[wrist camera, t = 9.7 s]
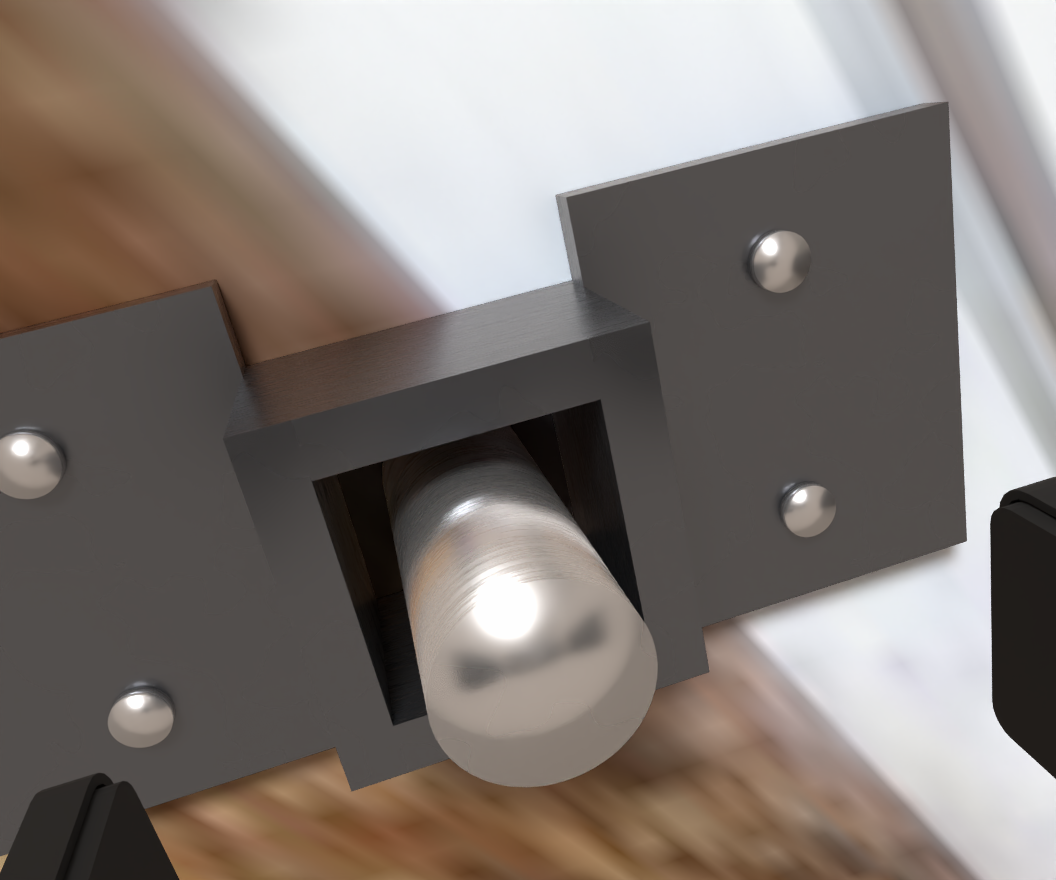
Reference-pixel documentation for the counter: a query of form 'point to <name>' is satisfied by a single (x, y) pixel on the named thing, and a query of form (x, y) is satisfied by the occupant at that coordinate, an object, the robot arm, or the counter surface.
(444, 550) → the pin
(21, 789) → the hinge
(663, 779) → the counter surface
